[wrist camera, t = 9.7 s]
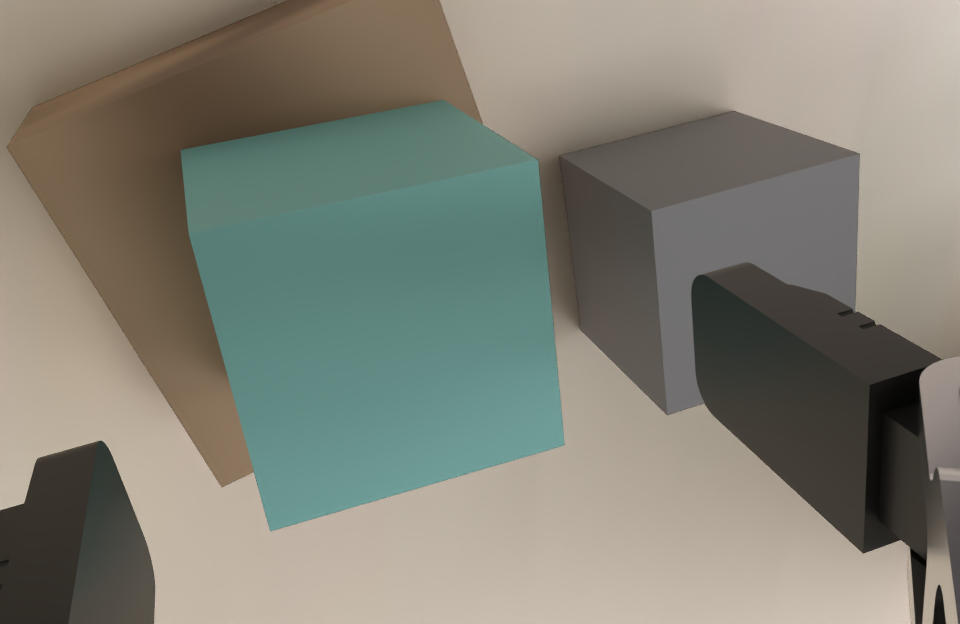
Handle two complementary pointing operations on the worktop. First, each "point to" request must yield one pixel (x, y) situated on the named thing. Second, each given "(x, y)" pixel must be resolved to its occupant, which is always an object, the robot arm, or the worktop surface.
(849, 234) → the charcoal cube
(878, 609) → the worktop surface
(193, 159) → the teal cube
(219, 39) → the brown square block
